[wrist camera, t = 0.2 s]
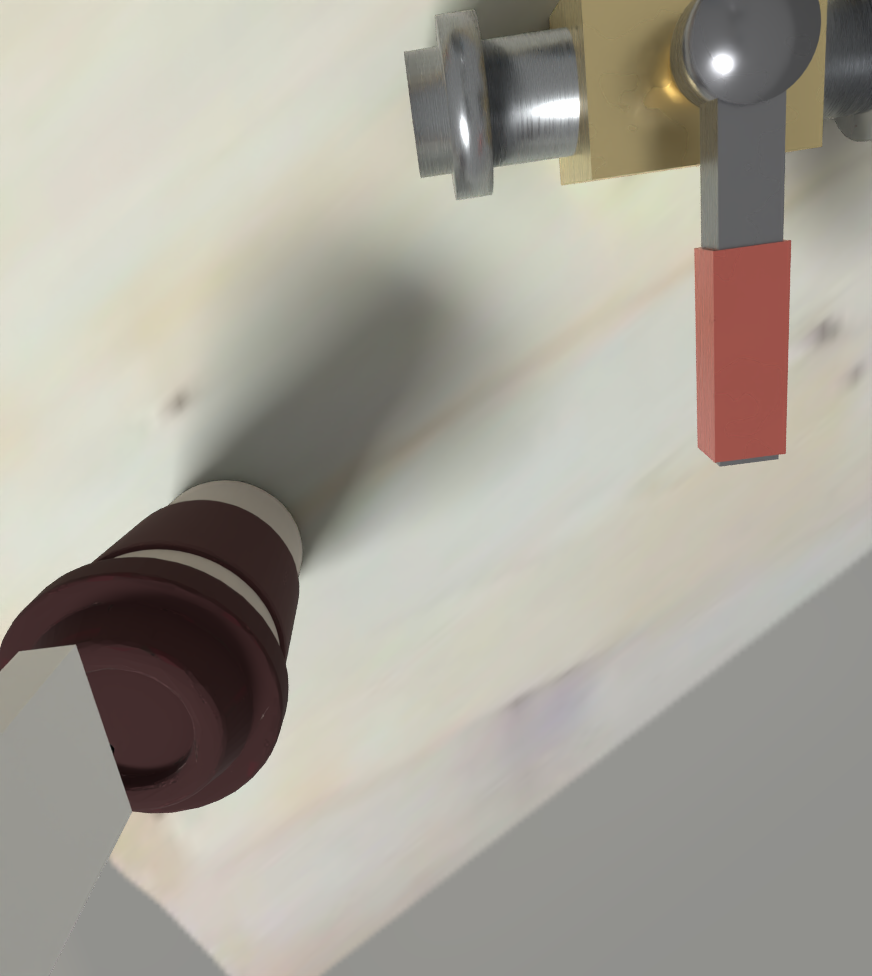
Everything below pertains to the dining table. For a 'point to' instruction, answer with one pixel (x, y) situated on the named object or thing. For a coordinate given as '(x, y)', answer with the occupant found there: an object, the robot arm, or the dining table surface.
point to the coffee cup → (182, 641)
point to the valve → (604, 93)
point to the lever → (742, 213)
